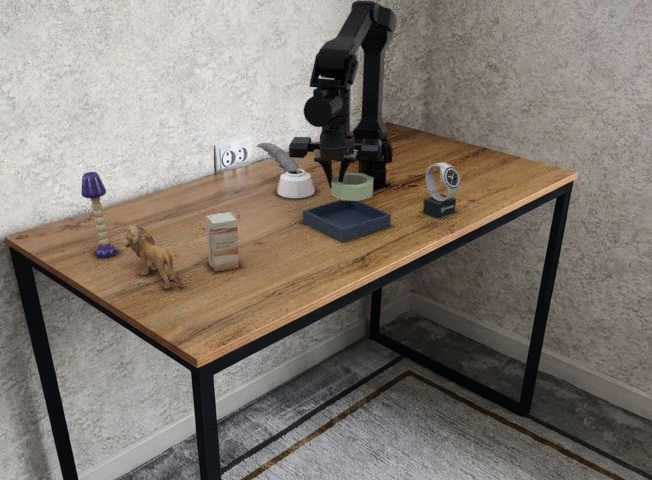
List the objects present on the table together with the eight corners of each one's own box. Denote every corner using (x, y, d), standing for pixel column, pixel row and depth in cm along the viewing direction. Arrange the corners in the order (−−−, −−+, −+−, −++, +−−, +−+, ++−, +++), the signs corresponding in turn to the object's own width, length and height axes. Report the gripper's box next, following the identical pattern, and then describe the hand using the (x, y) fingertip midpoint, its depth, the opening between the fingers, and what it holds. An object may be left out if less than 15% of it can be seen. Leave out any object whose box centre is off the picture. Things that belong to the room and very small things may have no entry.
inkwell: (297, 202, 178) (296, 159, 172) (242, 185, 188) (240, 144, 183) (323, 191, 184) (323, 149, 178) (268, 175, 194) (267, 135, 189)
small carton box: (215, 272, 147) (211, 223, 142) (208, 263, 150) (204, 215, 145) (240, 267, 149) (237, 218, 143) (233, 258, 152) (230, 210, 147)
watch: (444, 220, 167) (448, 171, 161) (417, 210, 172) (420, 162, 166) (461, 214, 170) (466, 165, 164) (434, 204, 175) (438, 157, 169)
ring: (324, 192, 163) (324, 178, 161) (354, 183, 167) (355, 170, 166) (349, 203, 157) (350, 189, 156) (380, 194, 162) (381, 180, 160)
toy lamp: (104, 260, 152) (90, 179, 144) (87, 255, 155) (73, 175, 146) (121, 251, 156) (109, 171, 147) (104, 247, 158) (91, 168, 149)
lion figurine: (122, 271, 148) (115, 228, 143) (143, 262, 151) (138, 219, 147) (173, 293, 140) (168, 248, 135) (195, 283, 143) (190, 238, 139)
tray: (302, 222, 167) (302, 210, 166) (349, 208, 174) (349, 196, 173) (342, 242, 158) (343, 230, 157) (390, 226, 165) (391, 214, 163)
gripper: (283, 123, 148) (285, 200, 157) (380, 126, 146) (377, 204, 154) (292, 108, 158) (293, 181, 166) (383, 110, 155) (380, 184, 164)
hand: (335, 188), depth 162 cm, fingers closed on ring
